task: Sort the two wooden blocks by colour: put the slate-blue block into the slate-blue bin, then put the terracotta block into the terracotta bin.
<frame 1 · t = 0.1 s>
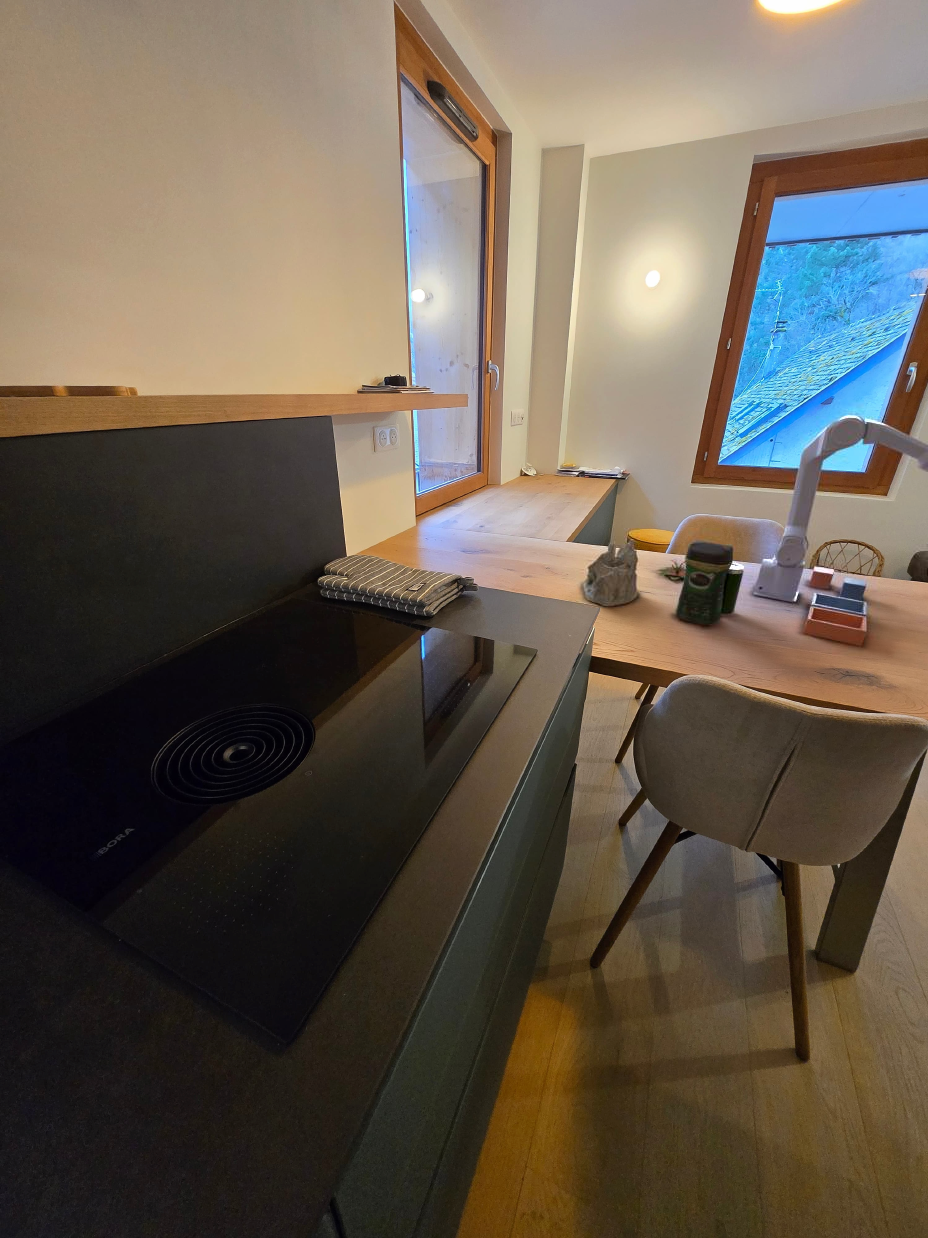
terracotta bin: (832, 632, 110), on the table
blue block: (849, 597, 127), on the table
grey jagged hollow piece: (605, 593, 133), on the table
beer can: (720, 612, 121), on the table
terracotta block: (819, 585, 135), on the table
coffee jar: (696, 618, 118), on the table
lily flower: (676, 576, 144), on the table
blue bin: (834, 616, 117), on the table
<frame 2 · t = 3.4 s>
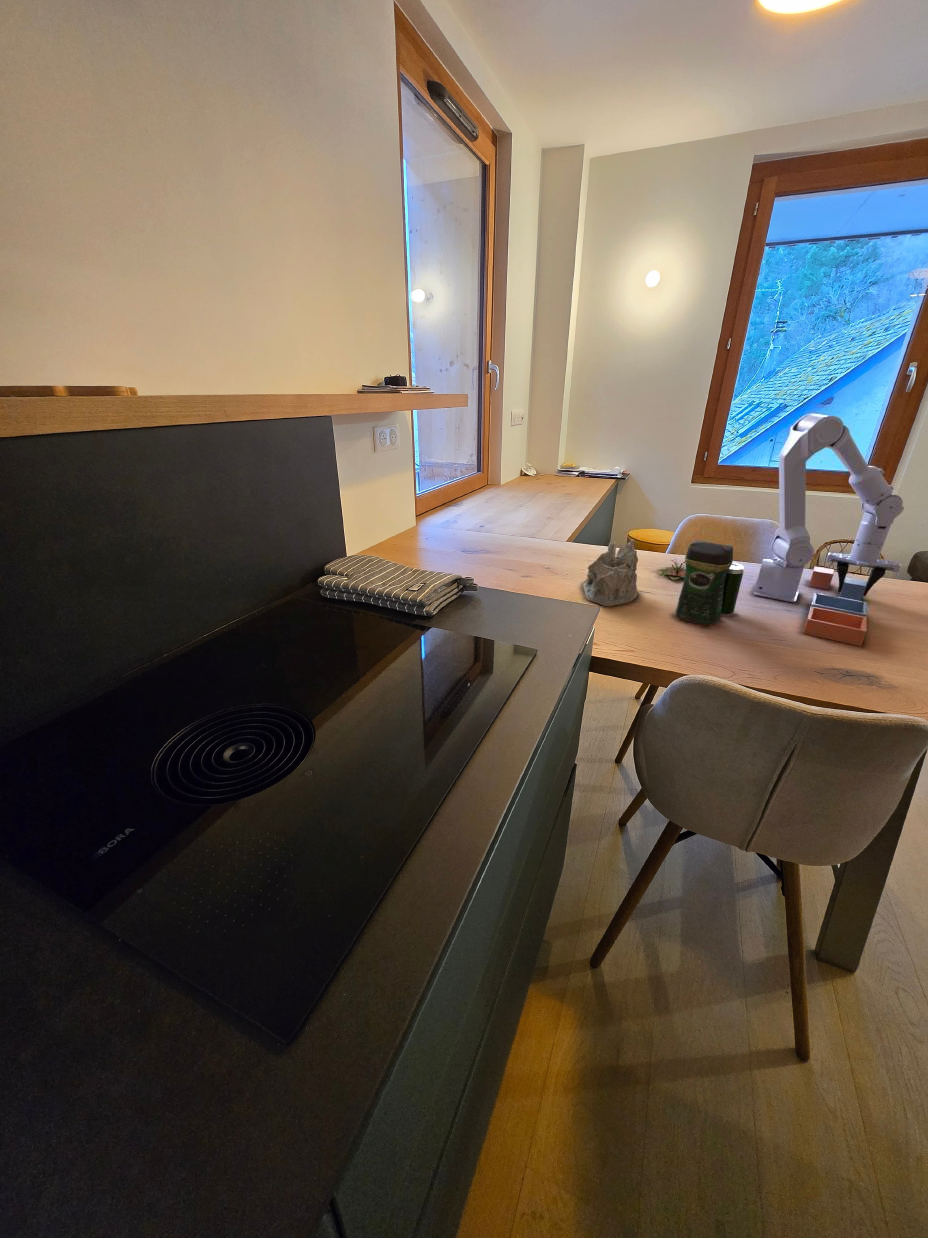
hand: (851, 592, 127), 1 cm above the table, tool pointing down, fingers closed on blue block, 4 cm apart
blue block: (849, 597, 127), on the table, touching gripper
everything else where it was.
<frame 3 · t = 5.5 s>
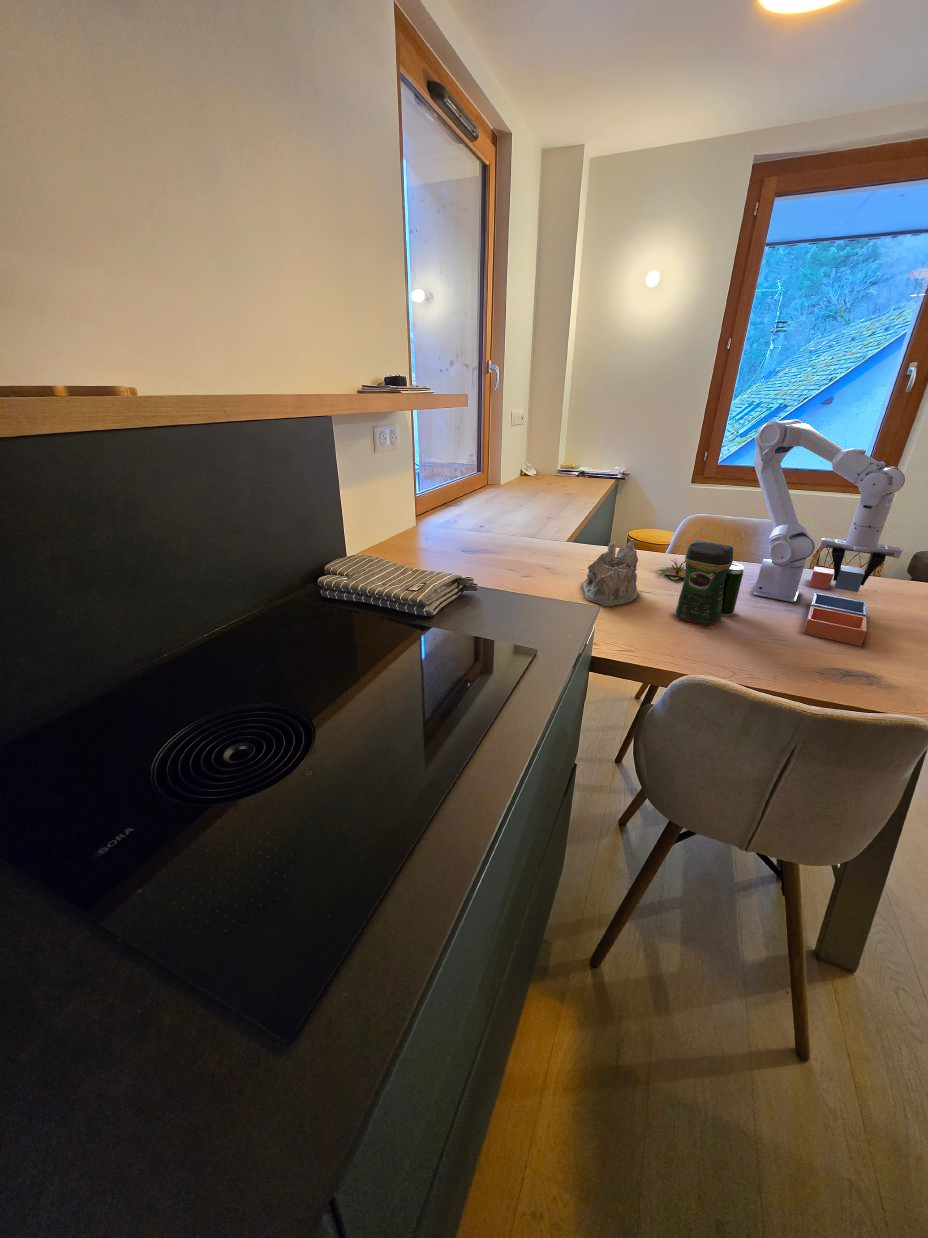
hand: (847, 581, 115), 8 cm above the table, tool pointing down, fingers closed on blue block, 4 cm apart
blue block: (846, 587, 115), point 7 cm above the table, touching gripper
everything else where it was.
when the fingers open (2 cm above the table, at t = 7.8 s): blue block stays where it is, resting on blue bin.
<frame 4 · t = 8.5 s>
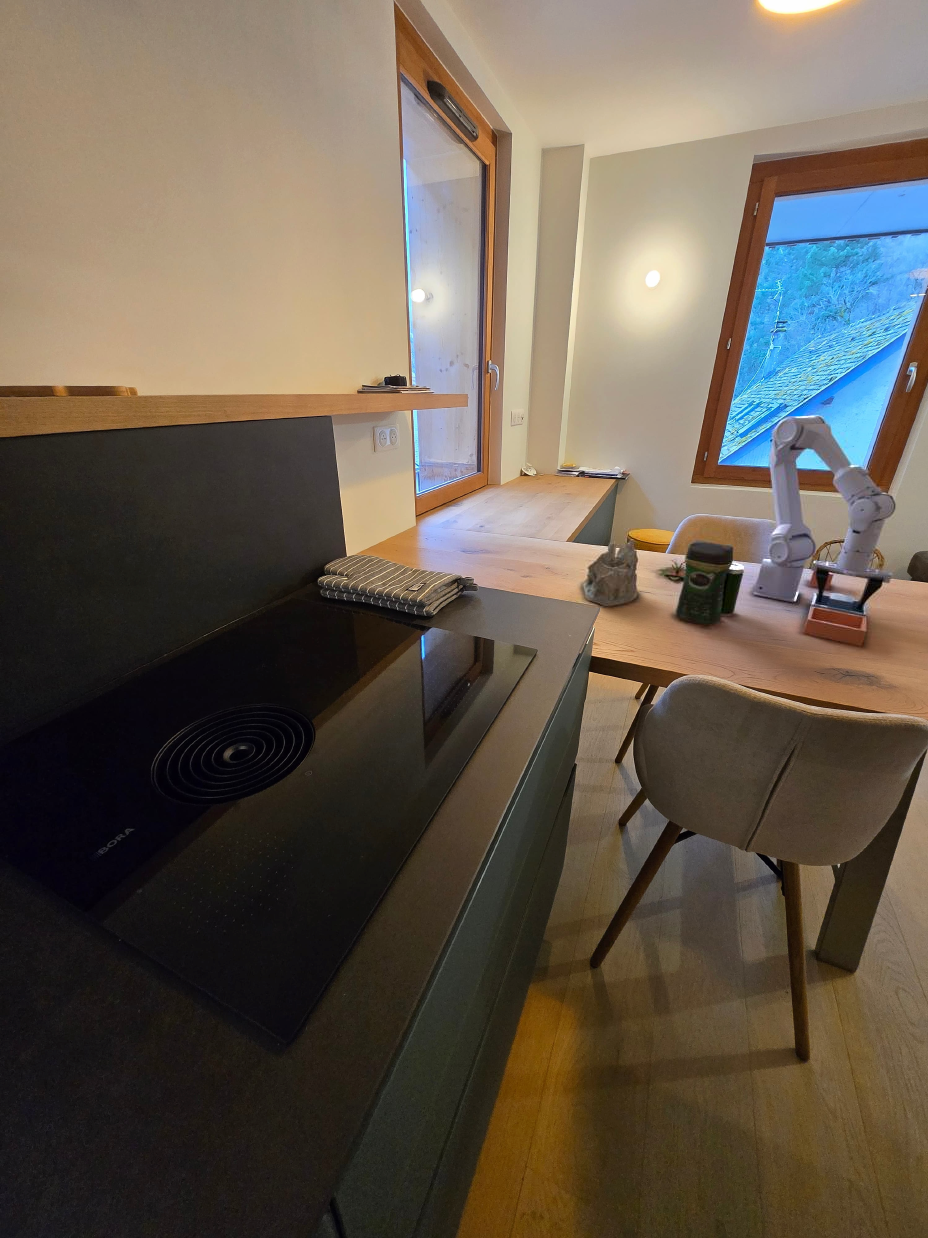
hand: (838, 604, 116), 3 cm above the table, tool pointing down, fingers open, 7 cm apart
blue block: (835, 614, 117), resting on blue bin
everything else where it was.
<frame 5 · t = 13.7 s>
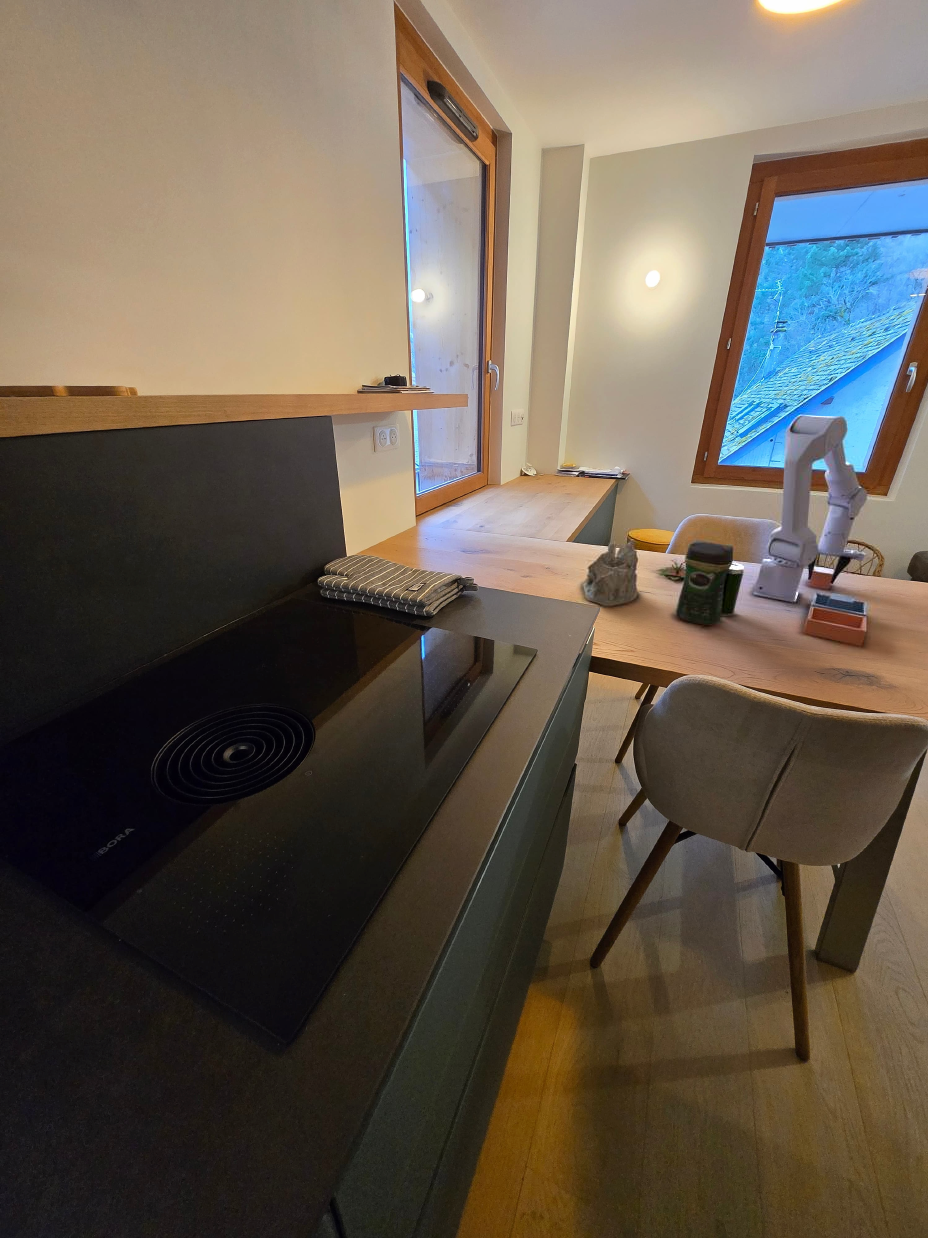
hand: (820, 580, 134), 1 cm above the table, tool pointing down, fingers closed on terracotta block, 4 cm apart
terracotta block: (818, 585, 135), on the table, touching gripper
everything else where it was.
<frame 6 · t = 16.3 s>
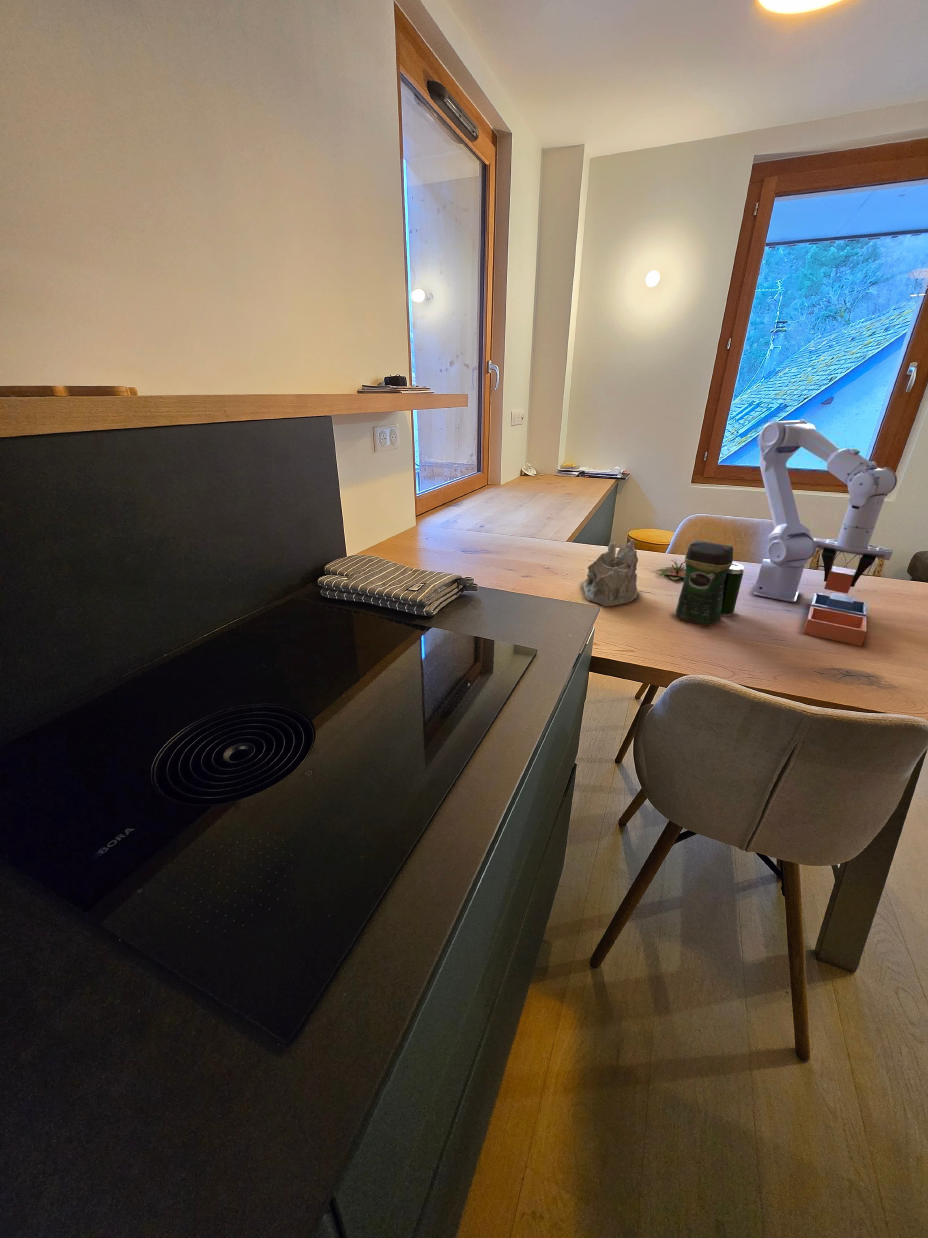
hand: (839, 583, 114), 8 cm above the table, tool pointing down, fingers closed on terracotta block, 4 cm apart
terracotta block: (837, 588, 115), point 7 cm above the table, touching gripper
everything else where it was.
when the fingers open (2 cm above the table, at t = 19.2 s): terracotta block stays where it is, resting on terracotta bin.
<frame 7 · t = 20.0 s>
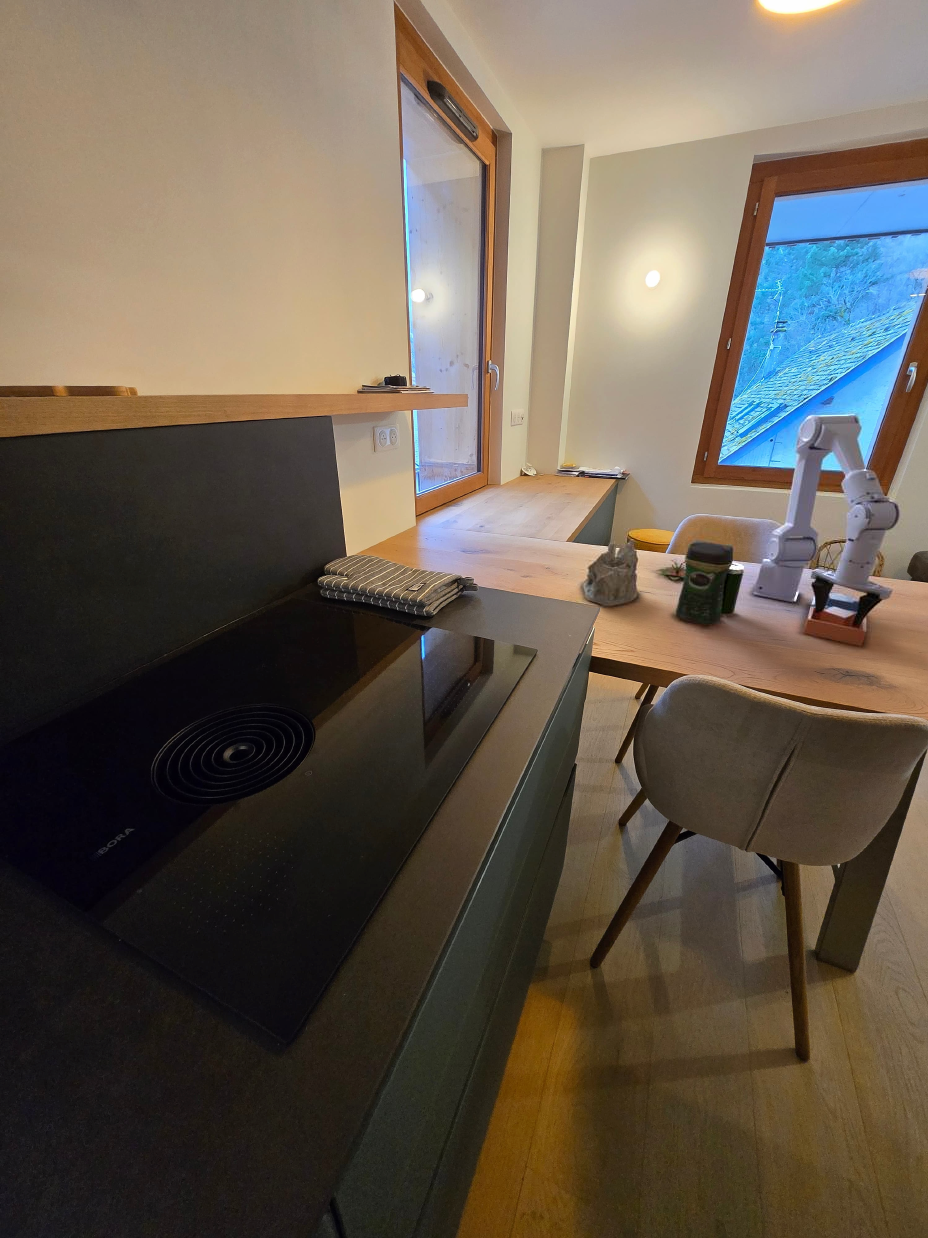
hand: (837, 618, 109), 3 cm above the table, tool pointing down, fingers open, 7 cm apart
terracotta block: (833, 630, 110), resting on terracotta bin
everything else where it was.
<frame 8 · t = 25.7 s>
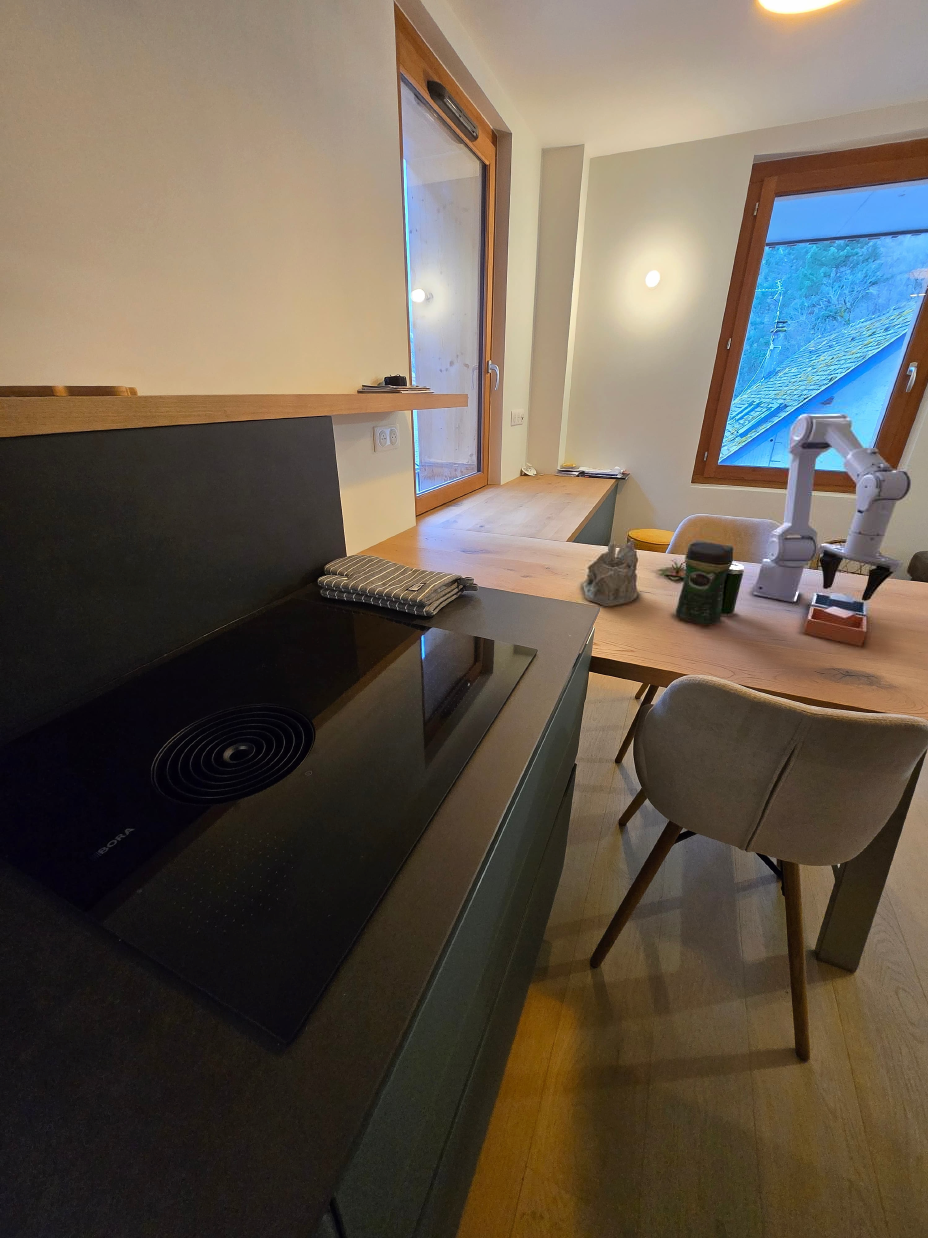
hand: (845, 593, 106), 9 cm above the table, tool pointing down, fingers open, 7 cm apart
nothing on the table moved.
at the end: blue block inside the target area in the blue bin (0.1 cm from its centre), point 0.5 cm above the blue bin's base; terracotta block inside the target area in the terracotta bin (0.1 cm from its centre), point 0.5 cm above the terracotta bin's base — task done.
